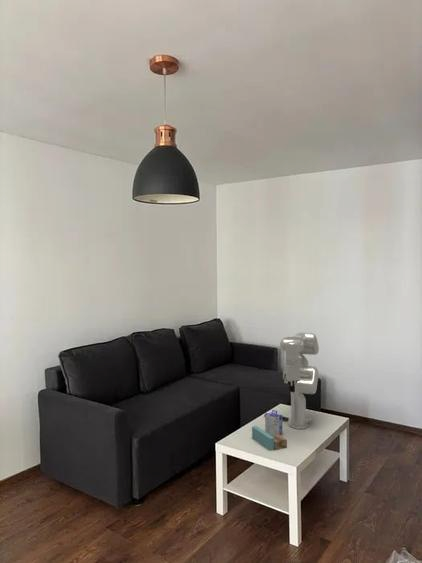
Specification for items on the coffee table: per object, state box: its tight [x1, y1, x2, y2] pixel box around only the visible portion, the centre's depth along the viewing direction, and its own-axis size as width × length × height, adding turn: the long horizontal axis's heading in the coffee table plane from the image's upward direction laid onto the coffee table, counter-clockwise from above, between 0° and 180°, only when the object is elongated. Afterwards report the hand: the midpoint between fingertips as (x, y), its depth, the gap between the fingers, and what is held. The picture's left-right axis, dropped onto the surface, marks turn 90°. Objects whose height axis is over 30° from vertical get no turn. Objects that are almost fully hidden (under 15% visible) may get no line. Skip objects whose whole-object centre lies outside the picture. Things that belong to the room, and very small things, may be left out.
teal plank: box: [251, 425, 275, 451], centre depth 253 cm, size 3×20×7 cm, turn 25°
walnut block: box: [272, 435, 288, 451], centre depth 249 cm, size 8×8×5 cm
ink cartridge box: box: [264, 409, 283, 436], centre depth 267 cm, size 10×6×14 cm, turn 58°
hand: (292, 391), depth 258 cm, fingers closed
